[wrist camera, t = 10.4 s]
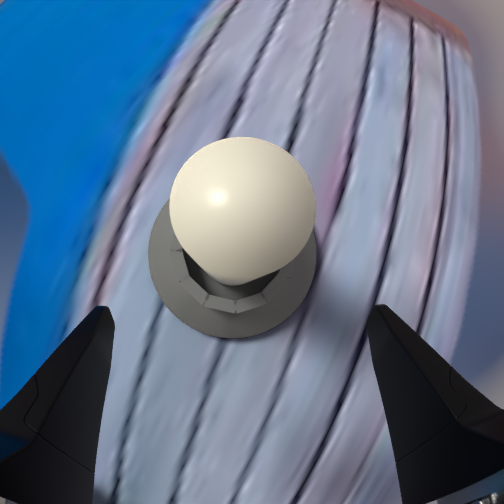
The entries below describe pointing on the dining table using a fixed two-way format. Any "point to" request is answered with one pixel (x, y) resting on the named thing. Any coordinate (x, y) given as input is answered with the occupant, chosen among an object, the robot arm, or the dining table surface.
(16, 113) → the dining table surface
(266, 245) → the candle
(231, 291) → the holder
